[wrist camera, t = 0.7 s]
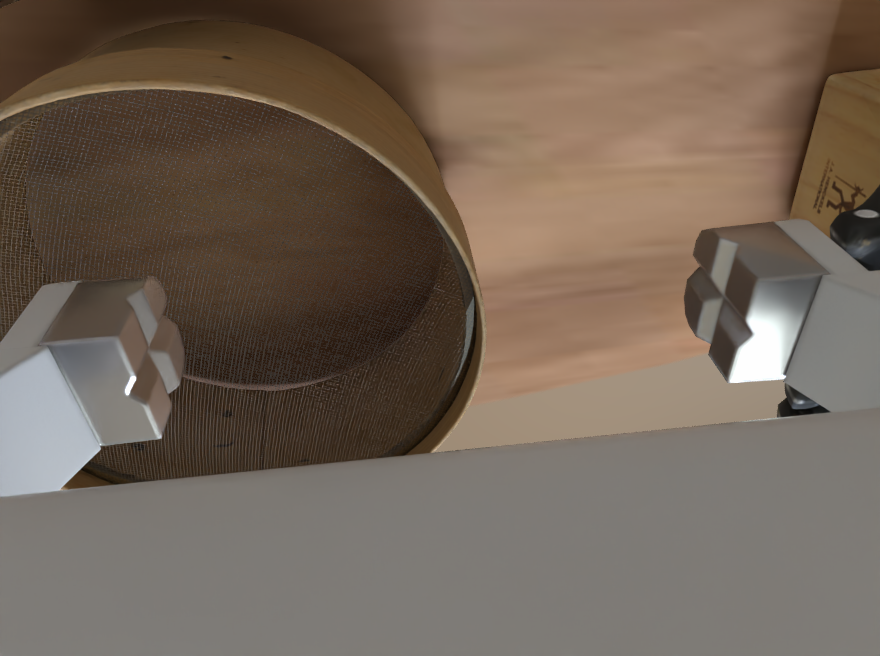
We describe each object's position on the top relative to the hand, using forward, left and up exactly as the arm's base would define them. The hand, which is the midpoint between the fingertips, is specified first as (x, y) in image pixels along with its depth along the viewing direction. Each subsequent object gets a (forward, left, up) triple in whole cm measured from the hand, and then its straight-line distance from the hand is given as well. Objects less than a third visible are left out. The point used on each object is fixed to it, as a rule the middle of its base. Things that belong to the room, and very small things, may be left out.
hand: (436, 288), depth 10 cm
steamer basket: (+7, -14, -27) cm, 31 cm away
